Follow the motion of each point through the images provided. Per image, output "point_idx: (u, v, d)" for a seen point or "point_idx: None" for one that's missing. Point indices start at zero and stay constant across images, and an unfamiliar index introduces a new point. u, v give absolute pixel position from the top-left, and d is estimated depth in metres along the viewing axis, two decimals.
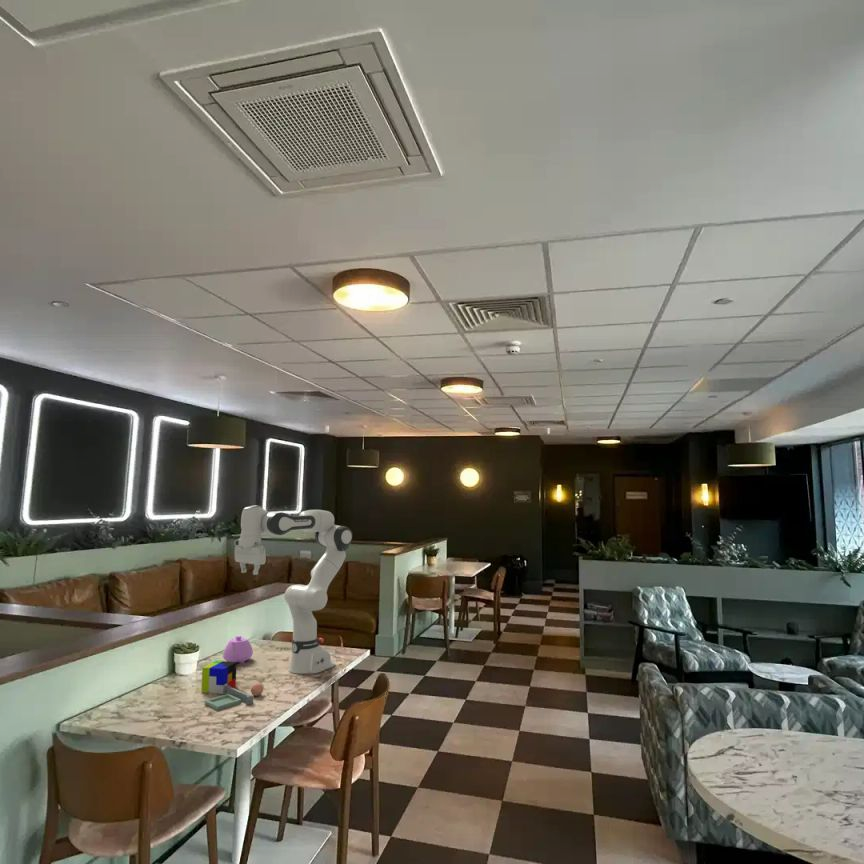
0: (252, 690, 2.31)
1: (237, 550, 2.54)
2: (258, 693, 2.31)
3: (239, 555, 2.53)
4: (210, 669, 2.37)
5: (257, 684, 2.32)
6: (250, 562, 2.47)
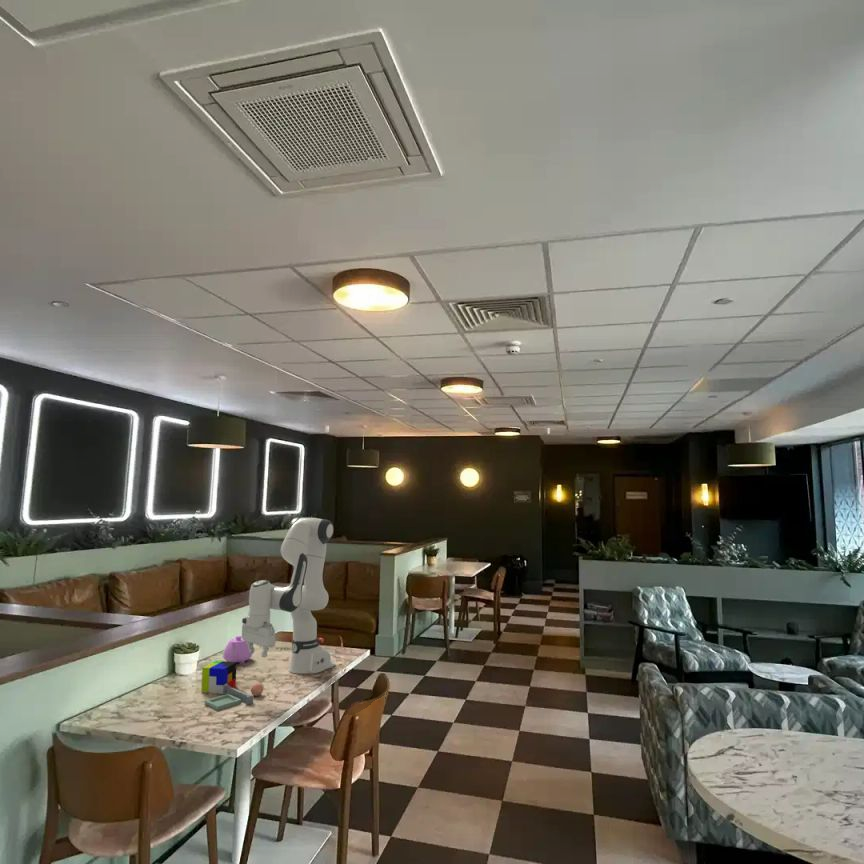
0: (252, 690, 2.31)
1: (245, 628, 2.39)
2: (258, 693, 2.31)
3: (247, 634, 2.37)
4: (210, 669, 2.37)
5: (257, 684, 2.32)
6: (259, 643, 2.31)
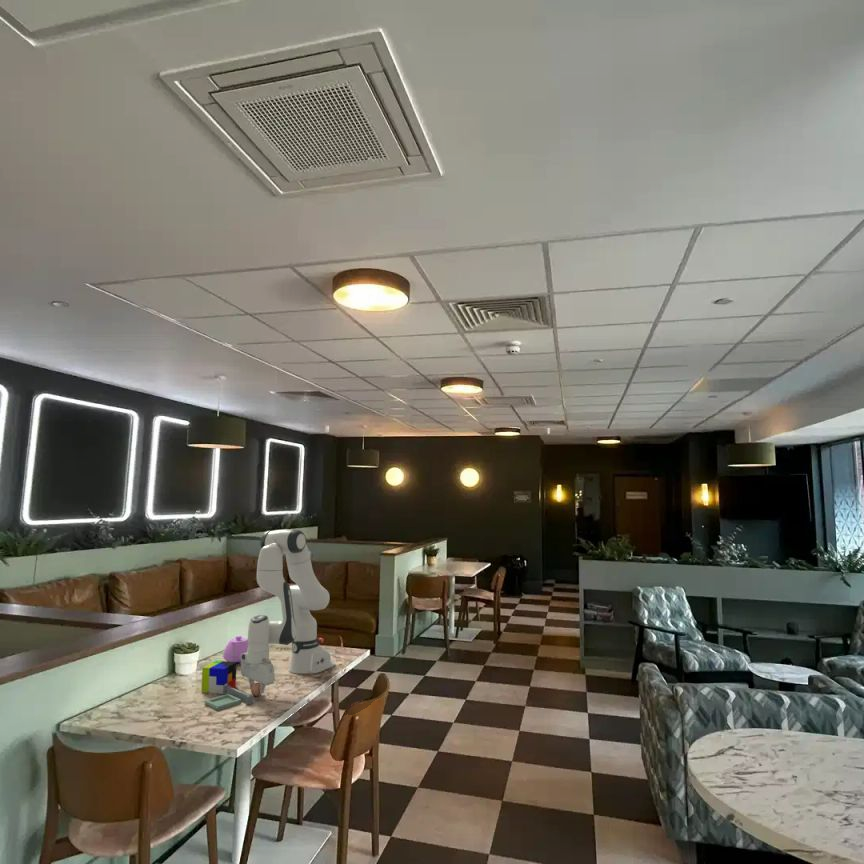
0: (252, 690, 2.31)
1: (244, 664, 2.37)
2: (258, 693, 2.31)
3: (246, 670, 2.36)
4: (210, 669, 2.37)
5: (257, 684, 2.32)
6: (258, 680, 2.30)
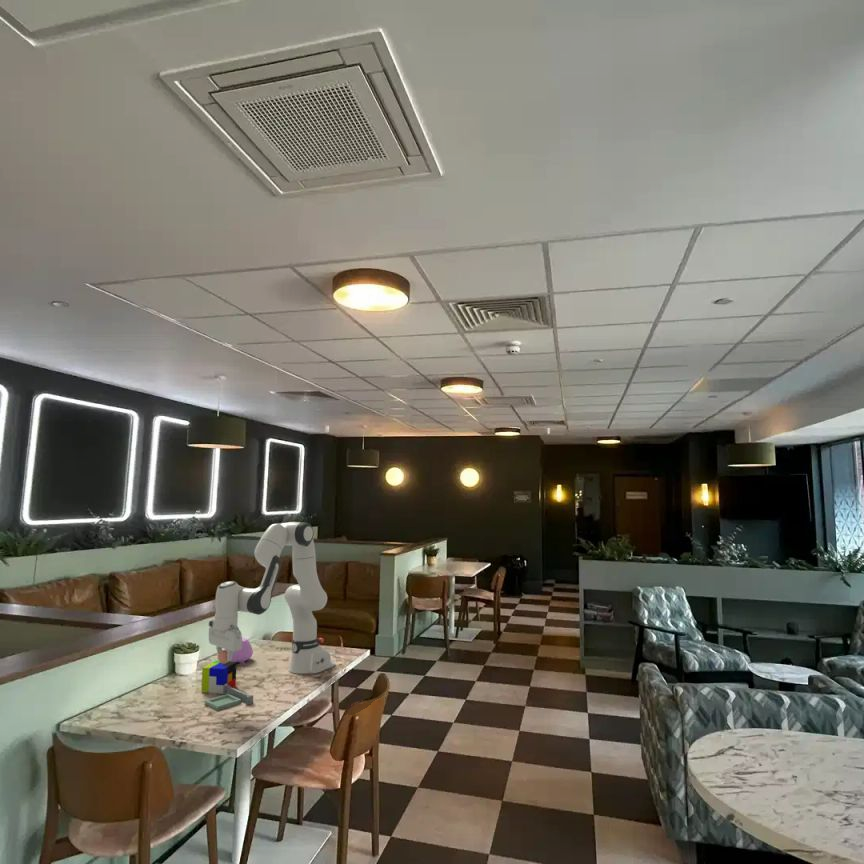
0: (219, 657, 2.23)
1: (211, 631, 2.30)
2: (225, 660, 2.23)
3: (214, 637, 2.28)
4: (210, 669, 2.37)
5: (224, 651, 2.25)
6: (225, 647, 2.22)
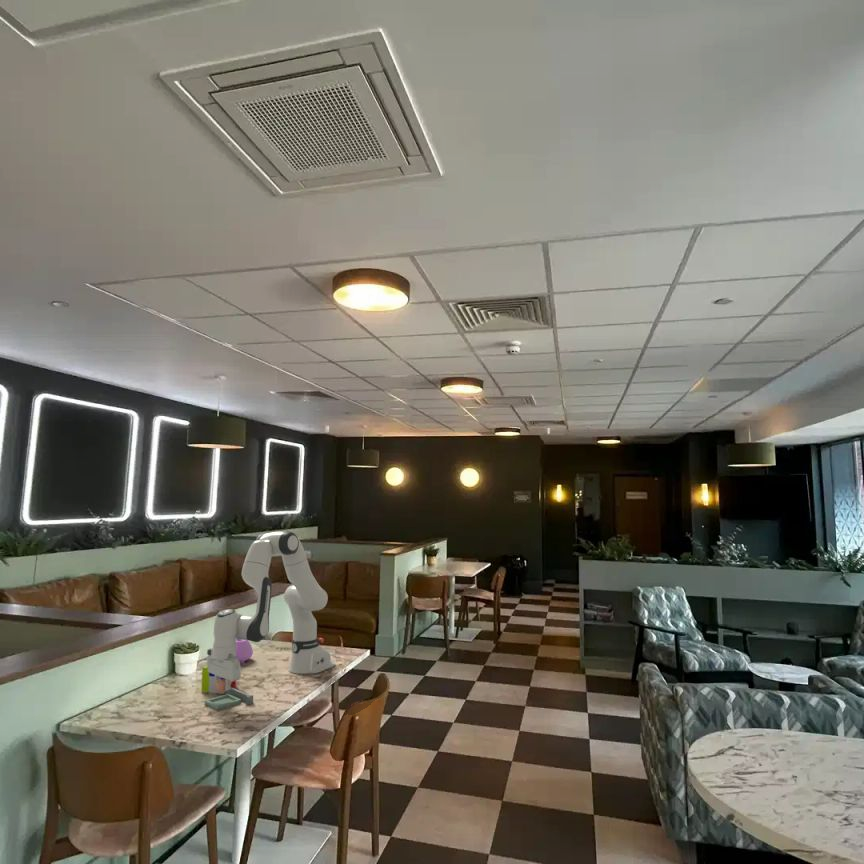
0: (217, 687, 2.22)
1: (210, 660, 2.29)
2: (223, 690, 2.22)
3: (212, 666, 2.27)
4: None
5: (223, 681, 2.23)
6: (223, 676, 2.21)
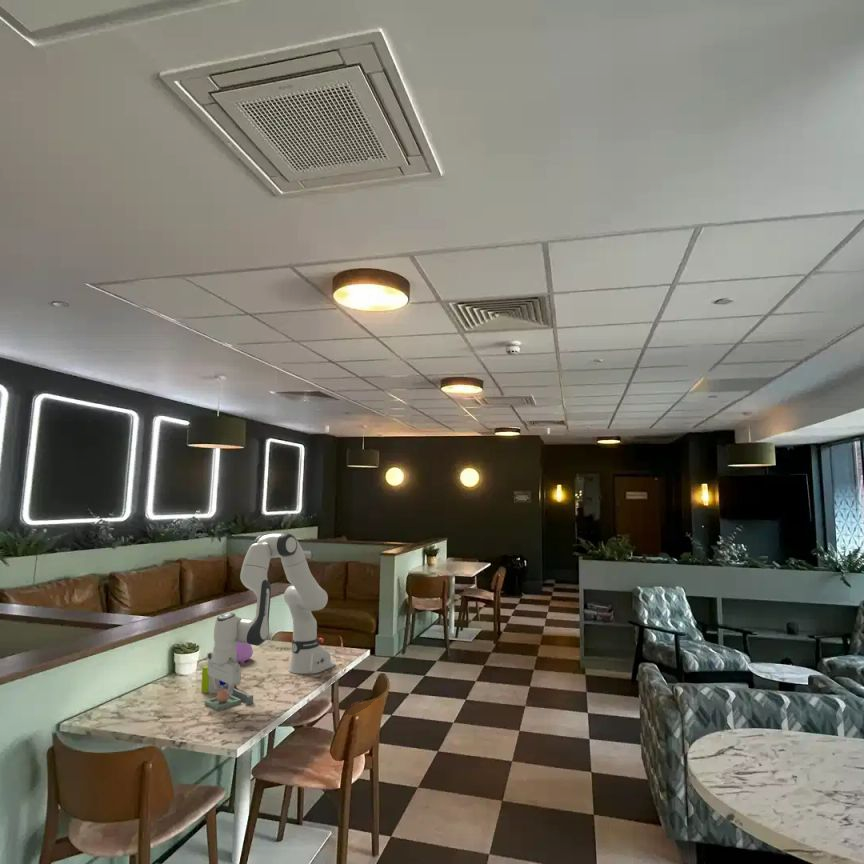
0: (217, 697, 2.22)
1: (210, 663, 2.28)
2: (224, 700, 2.22)
3: (212, 669, 2.27)
4: None
5: (223, 690, 2.23)
6: (224, 680, 2.21)
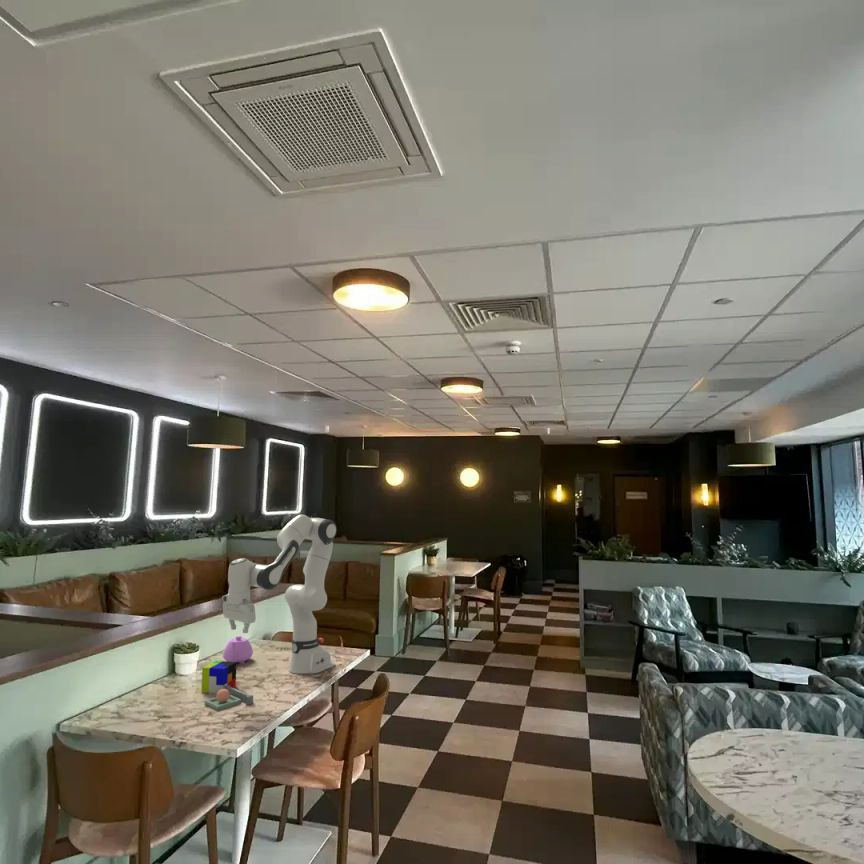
0: (217, 697, 2.22)
1: (225, 606, 2.42)
2: (224, 700, 2.22)
3: (228, 611, 2.41)
4: (210, 669, 2.37)
5: (223, 690, 2.23)
6: (239, 619, 2.35)
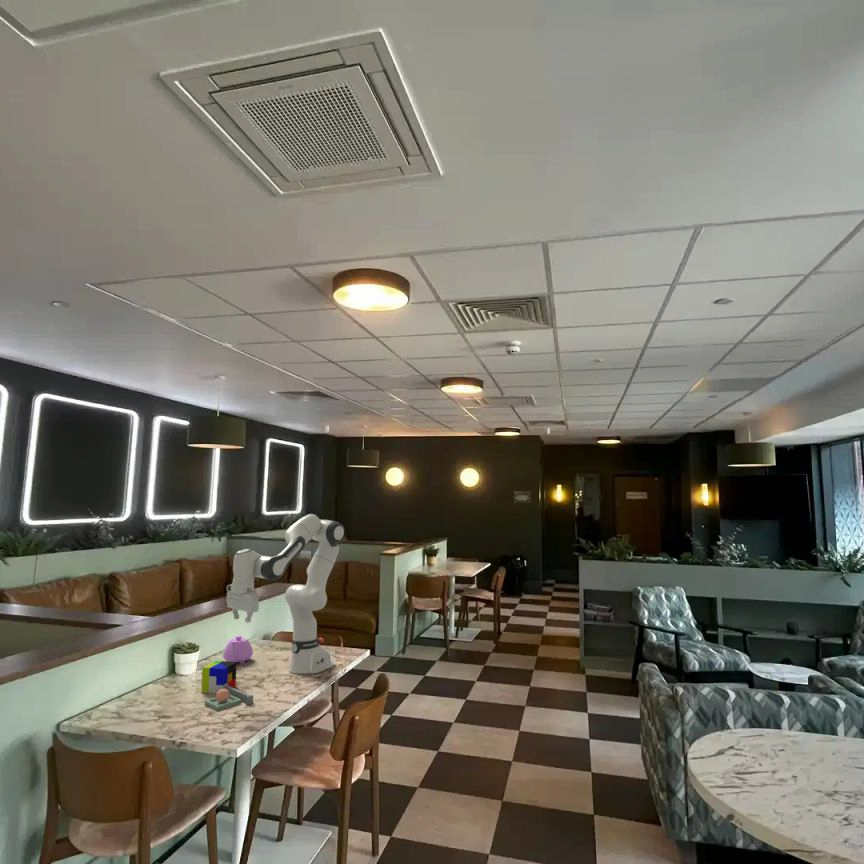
0: (217, 697, 2.22)
1: (229, 595, 2.45)
2: (224, 699, 2.22)
3: (232, 600, 2.44)
4: (210, 669, 2.37)
5: (222, 690, 2.23)
6: (242, 609, 2.38)
